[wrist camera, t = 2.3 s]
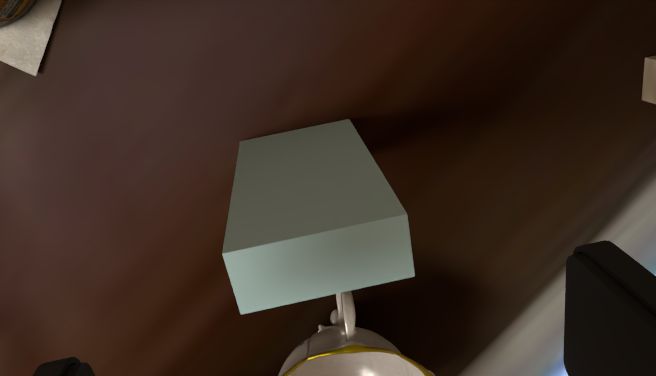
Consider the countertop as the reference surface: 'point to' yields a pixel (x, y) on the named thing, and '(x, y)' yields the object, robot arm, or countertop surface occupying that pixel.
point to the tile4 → (649, 80)
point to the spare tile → (311, 219)
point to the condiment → (26, 31)
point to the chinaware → (348, 350)
